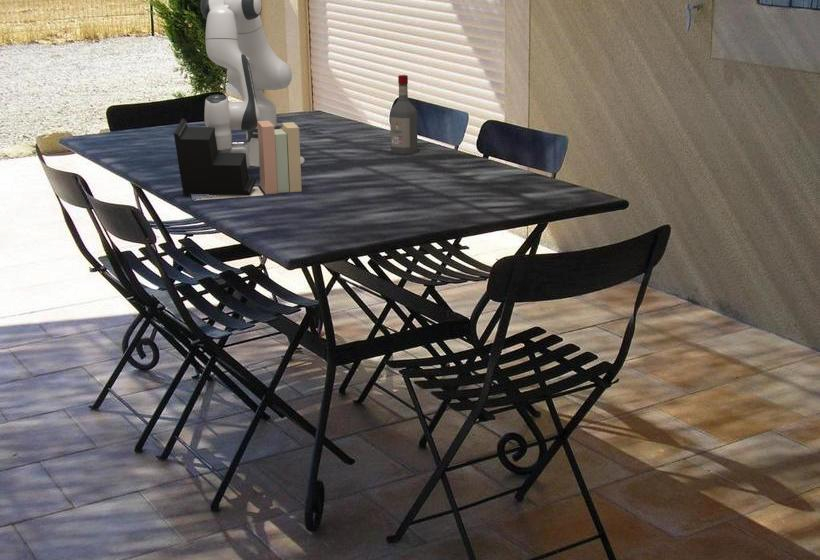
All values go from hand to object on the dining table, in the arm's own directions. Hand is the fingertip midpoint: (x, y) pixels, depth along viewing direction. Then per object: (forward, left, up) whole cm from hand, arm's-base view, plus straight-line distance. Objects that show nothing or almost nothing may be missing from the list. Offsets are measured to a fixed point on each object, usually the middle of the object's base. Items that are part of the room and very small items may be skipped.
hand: (221, 182), depth 422 cm
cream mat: (0, +9, -2) cm, 9 cm away
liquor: (-76, -40, -2) cm, 86 cm away
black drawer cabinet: (+1, +6, -1) cm, 7 cm away
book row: (-19, +9, -2) cm, 21 cm away
